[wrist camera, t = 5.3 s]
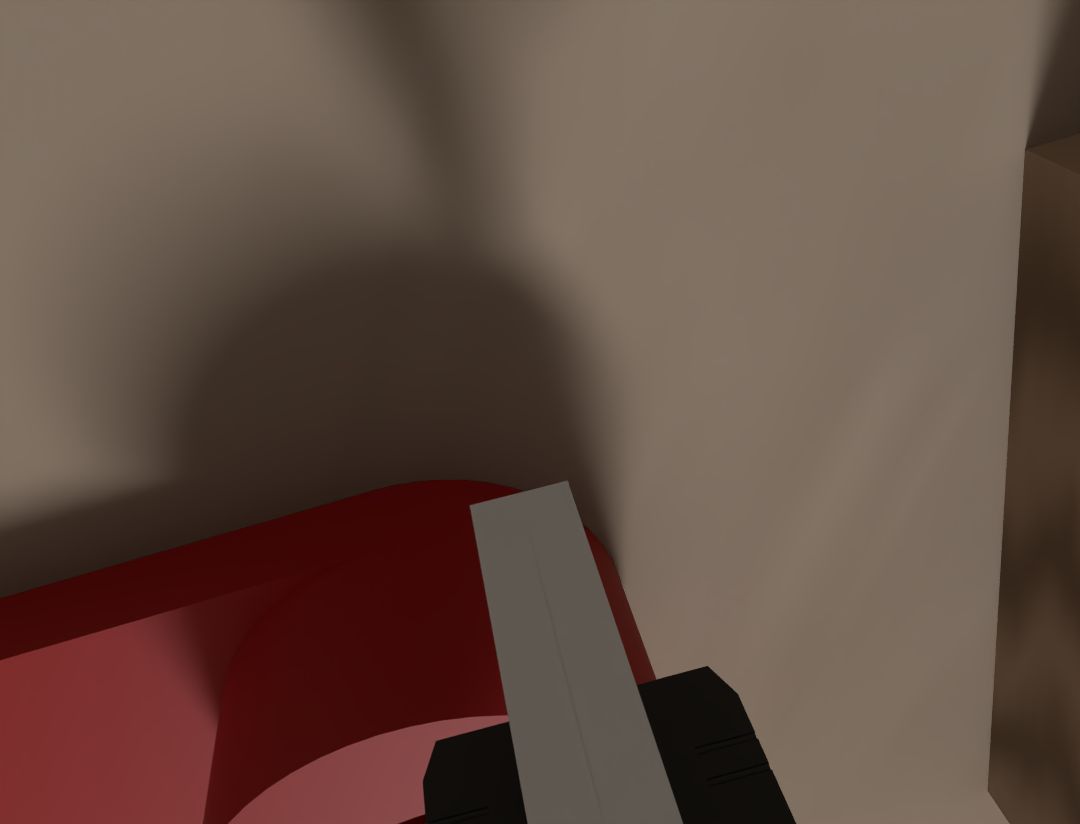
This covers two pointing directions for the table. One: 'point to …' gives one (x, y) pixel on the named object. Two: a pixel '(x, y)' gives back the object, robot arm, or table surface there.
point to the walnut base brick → (1042, 510)
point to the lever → (262, 669)
